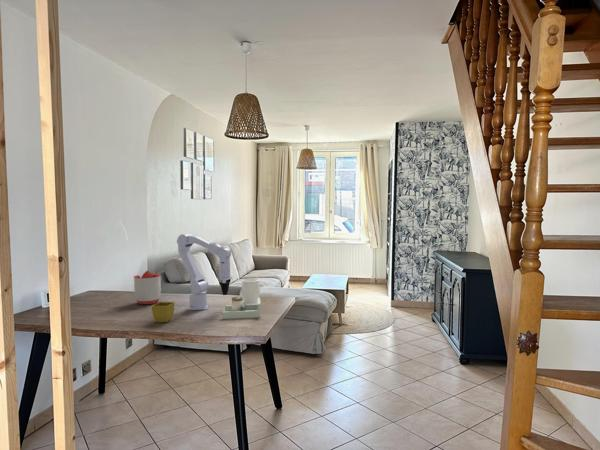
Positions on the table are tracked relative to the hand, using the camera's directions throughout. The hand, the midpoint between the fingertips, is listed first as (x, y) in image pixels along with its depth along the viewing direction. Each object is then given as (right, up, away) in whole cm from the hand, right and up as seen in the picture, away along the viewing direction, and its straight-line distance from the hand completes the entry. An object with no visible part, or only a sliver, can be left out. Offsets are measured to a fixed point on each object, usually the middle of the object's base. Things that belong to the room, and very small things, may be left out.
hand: (225, 293), depth 224 cm
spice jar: (+8, -10, -10) cm, 16 cm away
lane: (+10, -10, -10) cm, 17 cm away
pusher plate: (+12, -9, -9) cm, 18 cm away
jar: (+13, -9, +12) cm, 20 cm away
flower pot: (-28, -11, -20) cm, 36 cm away
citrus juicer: (-52, -10, +21) cm, 57 cm away
